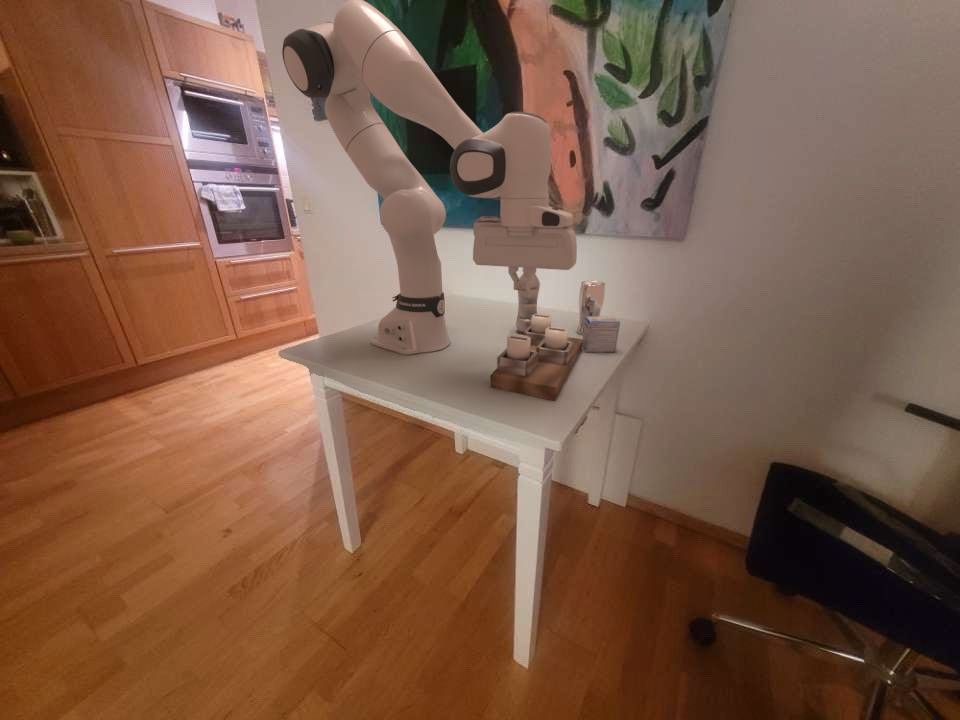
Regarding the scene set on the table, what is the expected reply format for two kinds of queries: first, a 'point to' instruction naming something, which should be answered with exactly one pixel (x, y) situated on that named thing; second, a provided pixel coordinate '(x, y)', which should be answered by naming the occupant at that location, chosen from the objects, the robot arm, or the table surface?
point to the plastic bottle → (527, 303)
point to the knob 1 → (518, 347)
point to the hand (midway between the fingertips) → (521, 289)
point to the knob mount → (536, 368)
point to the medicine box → (600, 334)
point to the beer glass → (590, 301)
